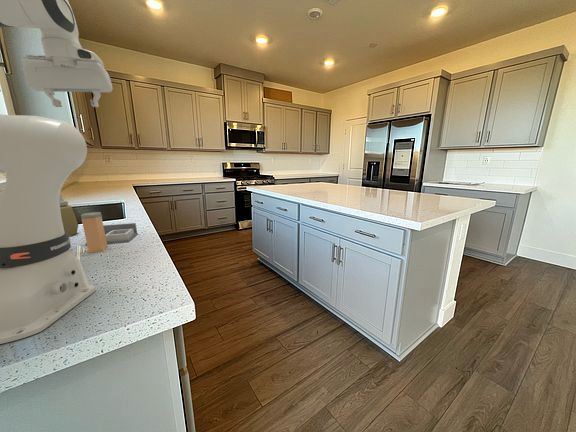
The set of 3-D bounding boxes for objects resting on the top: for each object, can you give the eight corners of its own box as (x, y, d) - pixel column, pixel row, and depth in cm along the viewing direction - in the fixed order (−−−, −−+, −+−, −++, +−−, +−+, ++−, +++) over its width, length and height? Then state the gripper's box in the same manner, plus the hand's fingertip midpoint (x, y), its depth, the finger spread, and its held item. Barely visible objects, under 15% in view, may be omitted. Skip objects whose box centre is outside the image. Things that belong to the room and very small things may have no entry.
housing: (128, 242, 91) (126, 229, 90) (85, 246, 88) (82, 232, 86) (137, 234, 101) (135, 223, 99) (98, 237, 97) (96, 225, 96)
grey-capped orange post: (103, 251, 82) (96, 214, 79) (85, 253, 80) (77, 216, 77) (110, 246, 87) (103, 211, 84) (93, 248, 85) (86, 212, 82)
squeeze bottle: (68, 238, 97) (57, 194, 93) (48, 238, 97) (37, 194, 93) (85, 232, 105) (76, 191, 100) (67, 232, 105) (57, 191, 101)
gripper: (11, 48, 64) (26, 103, 67) (101, 53, 70) (111, 103, 73) (27, 59, 70) (40, 109, 72) (109, 63, 76) (118, 109, 79)
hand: (76, 106), depth 73 cm, fingers open, 8 cm apart
